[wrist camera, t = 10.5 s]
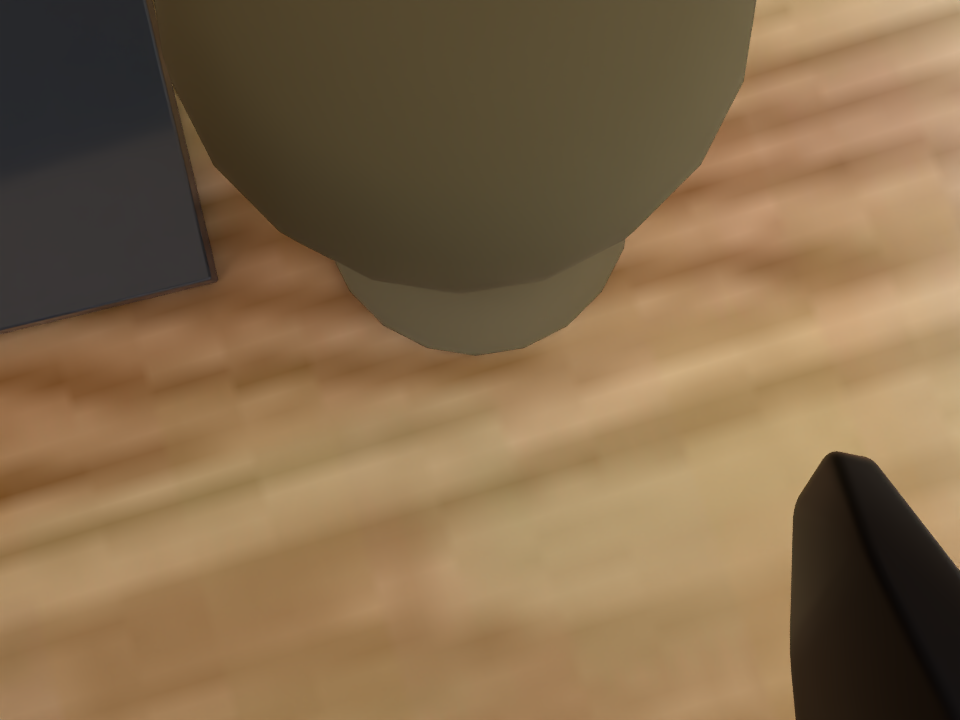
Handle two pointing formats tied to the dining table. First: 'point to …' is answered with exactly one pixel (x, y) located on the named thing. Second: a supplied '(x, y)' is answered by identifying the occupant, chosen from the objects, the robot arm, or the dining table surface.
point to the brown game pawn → (459, 140)
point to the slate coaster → (91, 164)
